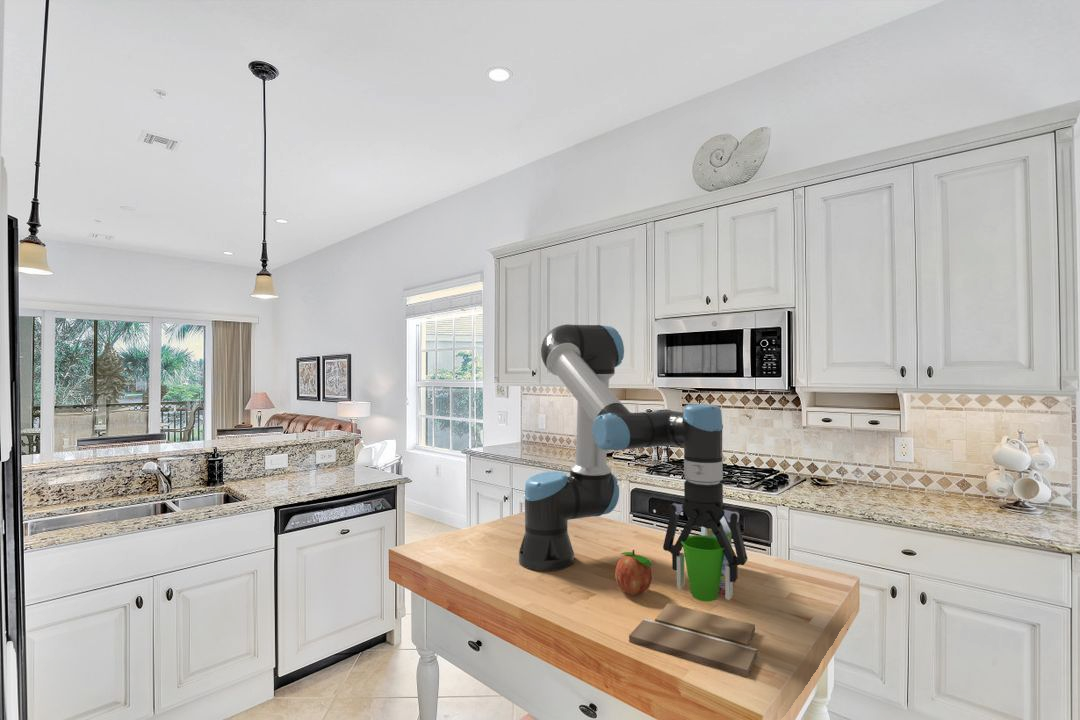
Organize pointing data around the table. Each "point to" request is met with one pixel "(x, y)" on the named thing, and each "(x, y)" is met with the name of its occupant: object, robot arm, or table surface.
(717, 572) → the cup
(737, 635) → the plank
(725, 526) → the snack box
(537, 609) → the table surface
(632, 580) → the fruit
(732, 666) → the floorboard
